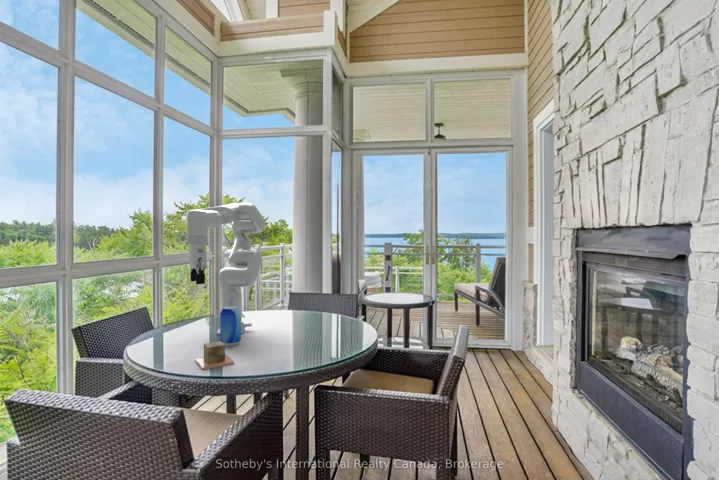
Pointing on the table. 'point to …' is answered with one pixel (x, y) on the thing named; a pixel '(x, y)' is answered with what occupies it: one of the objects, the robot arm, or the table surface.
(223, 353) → the walnut block
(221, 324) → the beer can
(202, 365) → the coaster
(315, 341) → the table surface
